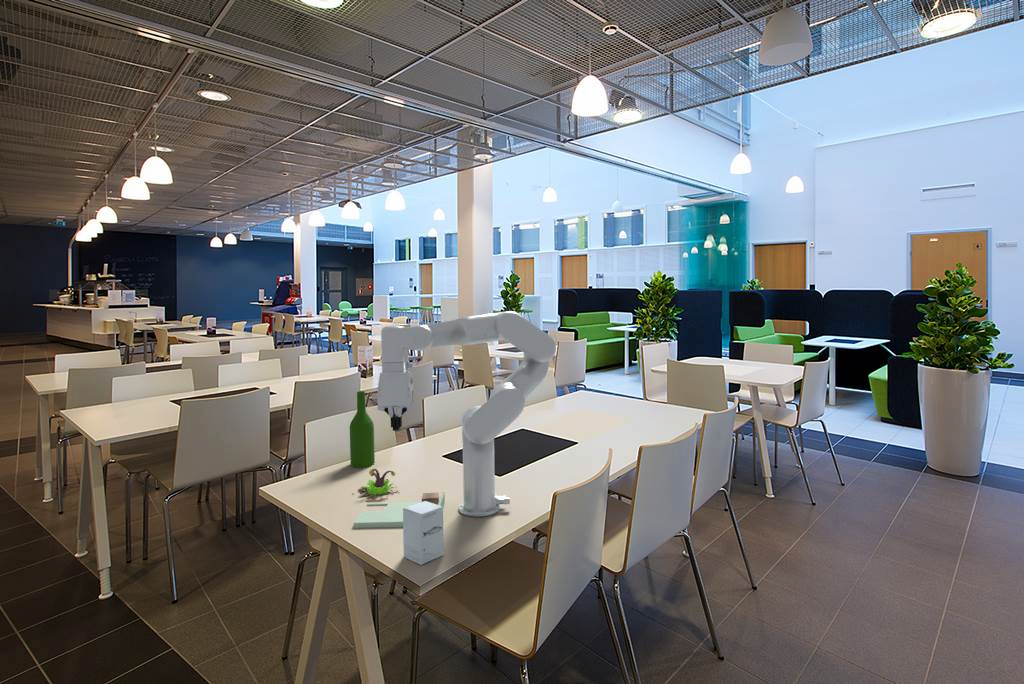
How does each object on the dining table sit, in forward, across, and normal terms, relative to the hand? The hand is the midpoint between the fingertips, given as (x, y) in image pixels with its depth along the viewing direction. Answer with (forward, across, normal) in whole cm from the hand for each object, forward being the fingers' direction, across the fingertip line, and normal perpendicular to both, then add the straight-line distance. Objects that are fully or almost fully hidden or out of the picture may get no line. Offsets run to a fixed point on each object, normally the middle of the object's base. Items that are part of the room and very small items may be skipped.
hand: (396, 429), depth 156 cm
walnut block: (+25, -9, -5) cm, 27 cm away
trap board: (+27, -1, 0) cm, 27 cm away
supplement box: (+27, -11, +25) cm, 39 cm away
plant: (+28, +10, -19) cm, 35 cm away
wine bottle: (+27, +22, -47) cm, 59 cm away
